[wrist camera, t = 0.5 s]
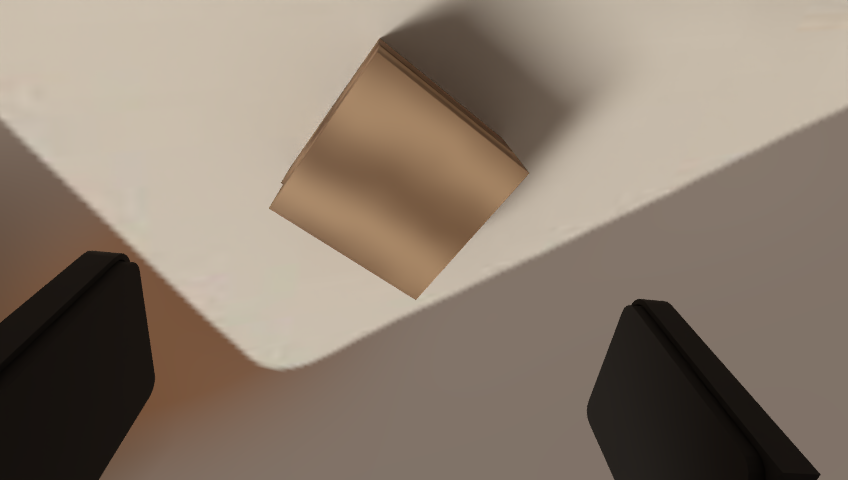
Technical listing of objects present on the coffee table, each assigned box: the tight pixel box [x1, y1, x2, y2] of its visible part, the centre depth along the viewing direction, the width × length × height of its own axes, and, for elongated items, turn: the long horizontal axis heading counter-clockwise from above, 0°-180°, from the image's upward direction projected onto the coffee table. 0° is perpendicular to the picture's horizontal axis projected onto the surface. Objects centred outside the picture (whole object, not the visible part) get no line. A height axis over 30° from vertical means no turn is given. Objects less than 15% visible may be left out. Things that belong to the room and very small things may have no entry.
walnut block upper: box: [269, 45, 529, 300], centre depth 31 cm, size 11×11×4 cm
